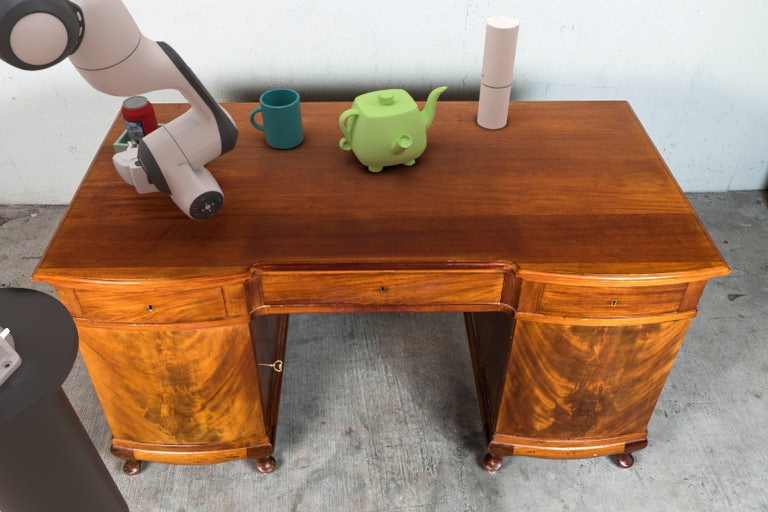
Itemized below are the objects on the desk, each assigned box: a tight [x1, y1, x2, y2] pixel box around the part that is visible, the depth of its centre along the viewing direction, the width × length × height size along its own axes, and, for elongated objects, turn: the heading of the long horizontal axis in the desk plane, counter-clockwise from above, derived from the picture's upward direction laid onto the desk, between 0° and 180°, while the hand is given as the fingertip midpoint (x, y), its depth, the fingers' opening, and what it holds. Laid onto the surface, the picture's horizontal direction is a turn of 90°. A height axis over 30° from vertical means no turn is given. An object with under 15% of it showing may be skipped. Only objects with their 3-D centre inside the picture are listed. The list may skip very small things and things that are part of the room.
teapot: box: [338, 85, 448, 173], centre depth 144 cm, size 25×22×16 cm
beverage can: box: [120, 95, 159, 145], centre depth 148 cm, size 7×7×12 cm
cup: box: [249, 87, 305, 150], centre depth 152 cm, size 9×12×11 cm
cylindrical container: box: [476, 14, 520, 130], centre depth 153 cm, size 7×7×25 cm
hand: (153, 136), depth 140 cm, fingers open, 8 cm apart
